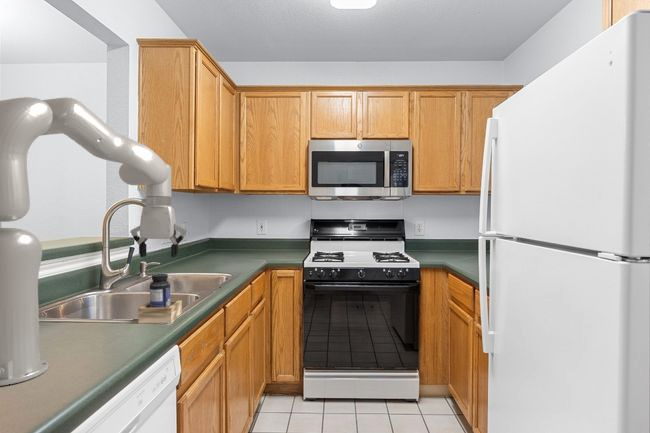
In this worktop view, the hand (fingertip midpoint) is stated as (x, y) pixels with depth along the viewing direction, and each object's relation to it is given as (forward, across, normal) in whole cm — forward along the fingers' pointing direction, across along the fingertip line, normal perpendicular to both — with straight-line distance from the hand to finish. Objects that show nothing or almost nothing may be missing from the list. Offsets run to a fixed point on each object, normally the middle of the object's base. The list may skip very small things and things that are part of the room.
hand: (158, 256), depth 130 cm
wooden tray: (+20, 0, +1) cm, 20 cm away
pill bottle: (+17, 0, +1) cm, 17 cm away
